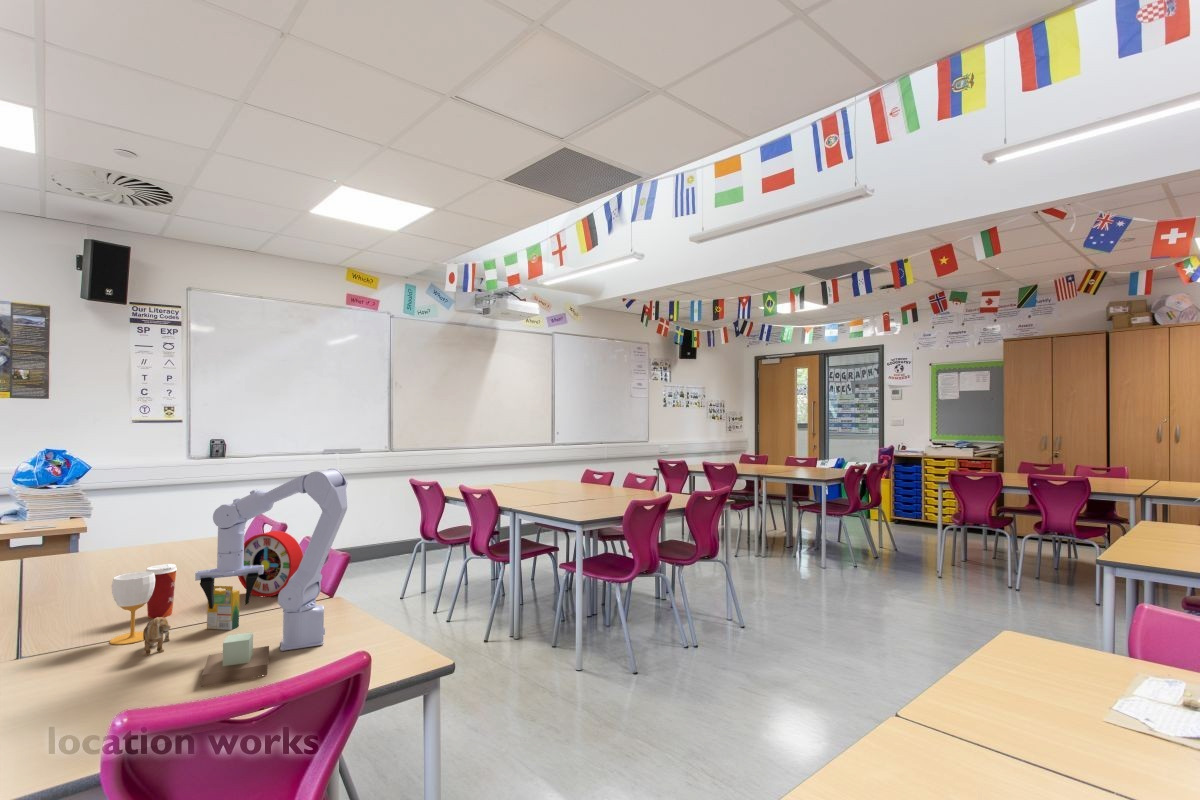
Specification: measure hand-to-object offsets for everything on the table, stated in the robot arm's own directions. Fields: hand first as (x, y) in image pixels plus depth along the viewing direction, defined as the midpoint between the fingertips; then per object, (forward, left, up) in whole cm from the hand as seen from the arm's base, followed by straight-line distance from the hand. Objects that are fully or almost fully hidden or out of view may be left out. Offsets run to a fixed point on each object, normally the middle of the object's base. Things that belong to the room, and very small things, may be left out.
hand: (229, 605), depth 148 cm
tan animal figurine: (+15, -3, -10) cm, 18 cm away
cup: (+23, -15, -10) cm, 29 cm away
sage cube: (-4, +20, -7) cm, 22 cm away
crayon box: (+3, -14, -10) cm, 17 cm away
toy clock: (-6, -44, -10) cm, 45 cm away
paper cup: (+21, -34, -10) cm, 41 cm away
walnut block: (-4, +20, -10) cm, 23 cm away
